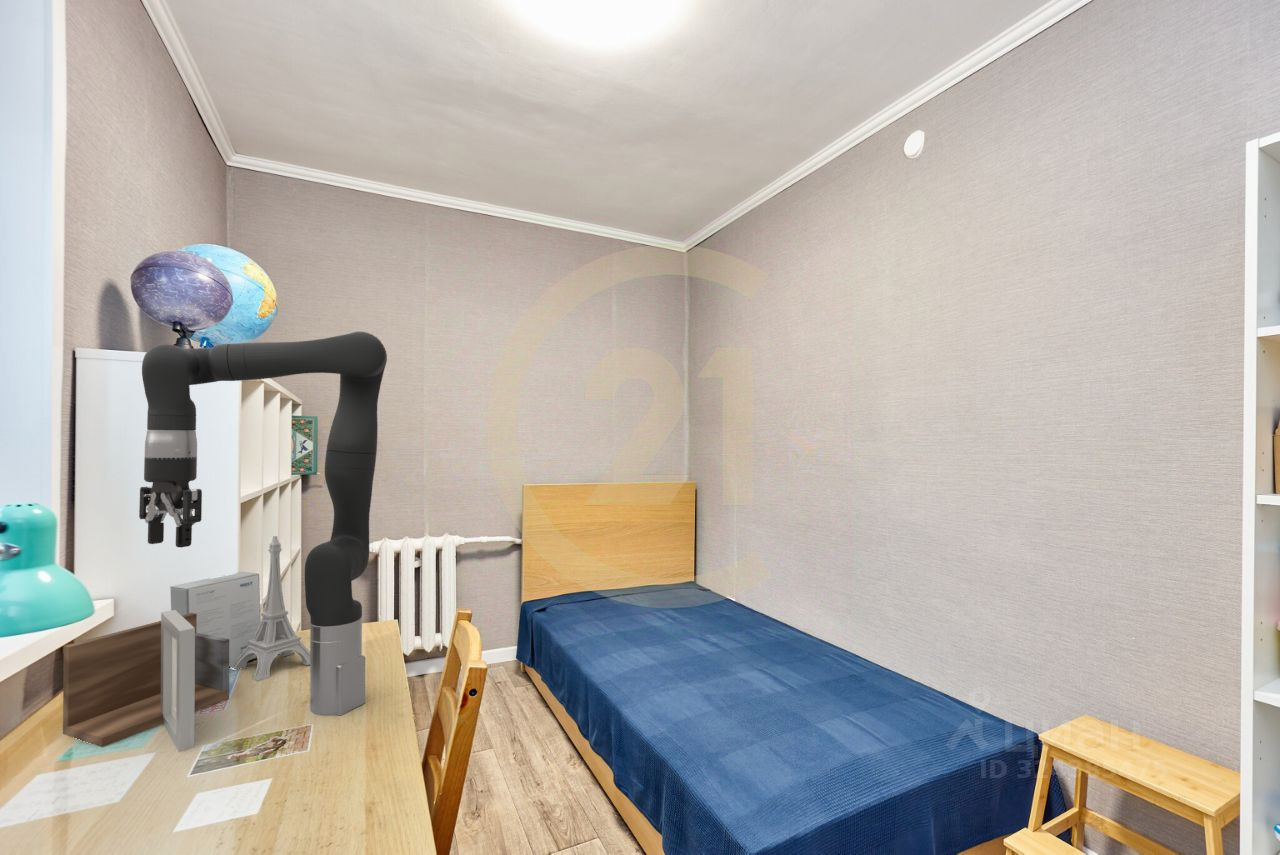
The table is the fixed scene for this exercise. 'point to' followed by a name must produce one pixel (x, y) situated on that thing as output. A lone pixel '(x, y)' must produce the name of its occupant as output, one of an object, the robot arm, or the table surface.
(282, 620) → the eiffel tower
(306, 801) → the table surface
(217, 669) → the walnut shelf
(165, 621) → the picture frame
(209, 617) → the hard drive box
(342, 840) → the table surface
